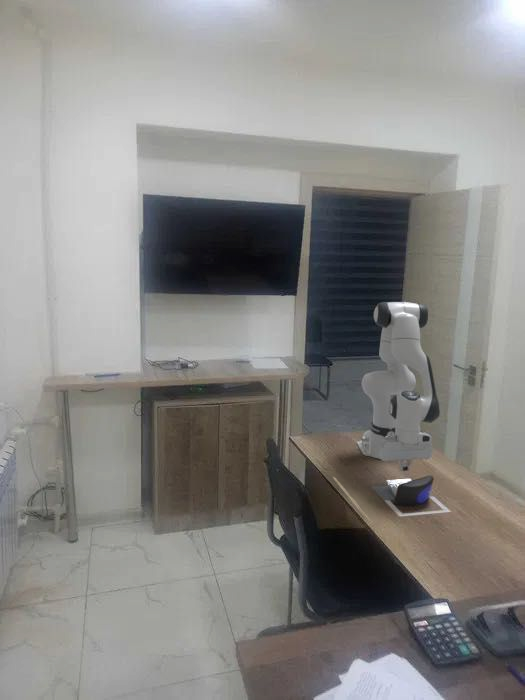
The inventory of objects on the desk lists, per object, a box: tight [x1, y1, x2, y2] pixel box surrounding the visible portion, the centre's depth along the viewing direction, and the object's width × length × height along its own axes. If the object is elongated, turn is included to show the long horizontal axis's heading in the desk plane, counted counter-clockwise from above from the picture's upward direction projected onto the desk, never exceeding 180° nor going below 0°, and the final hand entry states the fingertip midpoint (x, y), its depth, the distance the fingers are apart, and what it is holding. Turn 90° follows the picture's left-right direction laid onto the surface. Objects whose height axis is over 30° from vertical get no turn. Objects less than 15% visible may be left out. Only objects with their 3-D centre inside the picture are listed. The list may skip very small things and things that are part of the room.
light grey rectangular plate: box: [385, 478, 412, 497], centre depth 190 cm, size 8×10×1 cm
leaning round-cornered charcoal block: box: [393, 475, 435, 507], centre depth 182 cm, size 16×5×9 cm, turn 117°
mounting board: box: [371, 485, 452, 517], centre depth 186 cm, size 22×20×1 cm
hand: (404, 470), depth 189 cm, fingers closed
